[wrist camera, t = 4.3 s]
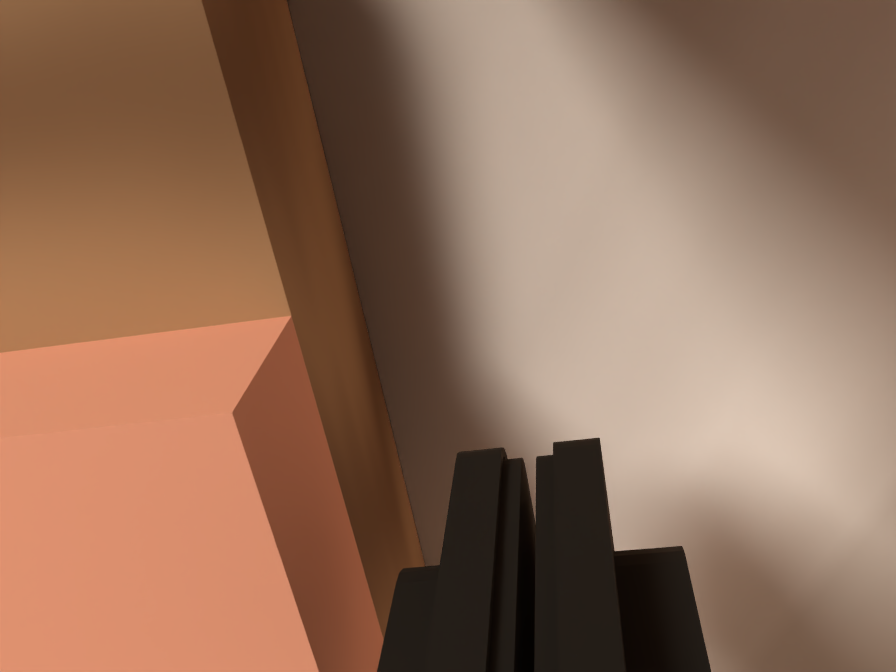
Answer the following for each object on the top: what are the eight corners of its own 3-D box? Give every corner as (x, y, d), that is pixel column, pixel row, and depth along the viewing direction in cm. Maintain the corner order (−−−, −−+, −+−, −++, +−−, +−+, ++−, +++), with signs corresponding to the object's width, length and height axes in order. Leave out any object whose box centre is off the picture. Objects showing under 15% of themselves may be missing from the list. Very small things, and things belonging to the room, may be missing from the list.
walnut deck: (-475, -23, 12) (-755, -3, 10) (241, -189, 11) (138, -222, 8) (-2, 768, 20) (-88, 904, 17) (470, 750, 18) (458, 900, 15)
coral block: (-334, 395, 12) (-509, 493, 10) (292, 315, 10) (231, 412, 8) (-129, 704, 14) (-237, 831, 12) (393, 676, 13) (367, 816, 11)
